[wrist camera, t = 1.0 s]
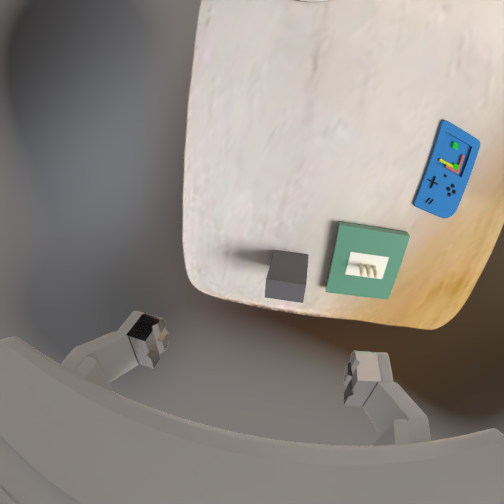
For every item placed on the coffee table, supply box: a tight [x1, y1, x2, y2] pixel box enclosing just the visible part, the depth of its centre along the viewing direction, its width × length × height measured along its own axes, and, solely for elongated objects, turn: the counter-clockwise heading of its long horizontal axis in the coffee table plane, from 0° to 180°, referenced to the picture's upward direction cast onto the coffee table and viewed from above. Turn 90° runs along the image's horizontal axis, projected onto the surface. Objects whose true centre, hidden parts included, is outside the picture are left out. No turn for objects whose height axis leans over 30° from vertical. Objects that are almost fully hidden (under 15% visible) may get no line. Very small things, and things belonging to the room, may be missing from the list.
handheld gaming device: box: [414, 120, 480, 218], centre depth 33 cm, size 8×1×15 cm
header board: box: [326, 221, 410, 299], centre depth 42 cm, size 13×12×4 cm
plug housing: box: [265, 250, 308, 303], centre depth 44 cm, size 3×6×8 cm, turn 88°
